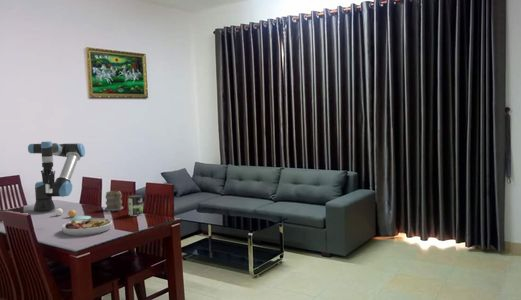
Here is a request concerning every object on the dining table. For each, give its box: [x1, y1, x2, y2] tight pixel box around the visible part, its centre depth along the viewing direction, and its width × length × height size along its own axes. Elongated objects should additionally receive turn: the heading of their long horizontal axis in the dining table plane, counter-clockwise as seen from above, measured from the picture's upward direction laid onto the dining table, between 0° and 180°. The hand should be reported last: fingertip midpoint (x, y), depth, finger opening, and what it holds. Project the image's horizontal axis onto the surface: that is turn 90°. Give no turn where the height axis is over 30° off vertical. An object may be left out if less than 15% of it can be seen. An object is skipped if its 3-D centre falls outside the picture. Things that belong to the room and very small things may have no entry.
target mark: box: [69, 215, 92, 221], centre depth 310 cm, size 14×14×1 cm
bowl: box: [61, 217, 113, 237], centre depth 275 cm, size 30×30×8 cm
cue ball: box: [54, 207, 64, 216], centre depth 321 cm, size 6×6×6 cm
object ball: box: [67, 209, 77, 218], centre depth 314 cm, size 6×6×6 cm
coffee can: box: [127, 194, 144, 217], centre depth 319 cm, size 10×10×14 cm
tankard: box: [104, 190, 124, 212], centre depth 338 cm, size 20×13×15 cm, turn 40°
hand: (49, 192), depth 324 cm, fingers open, 3 cm apart
